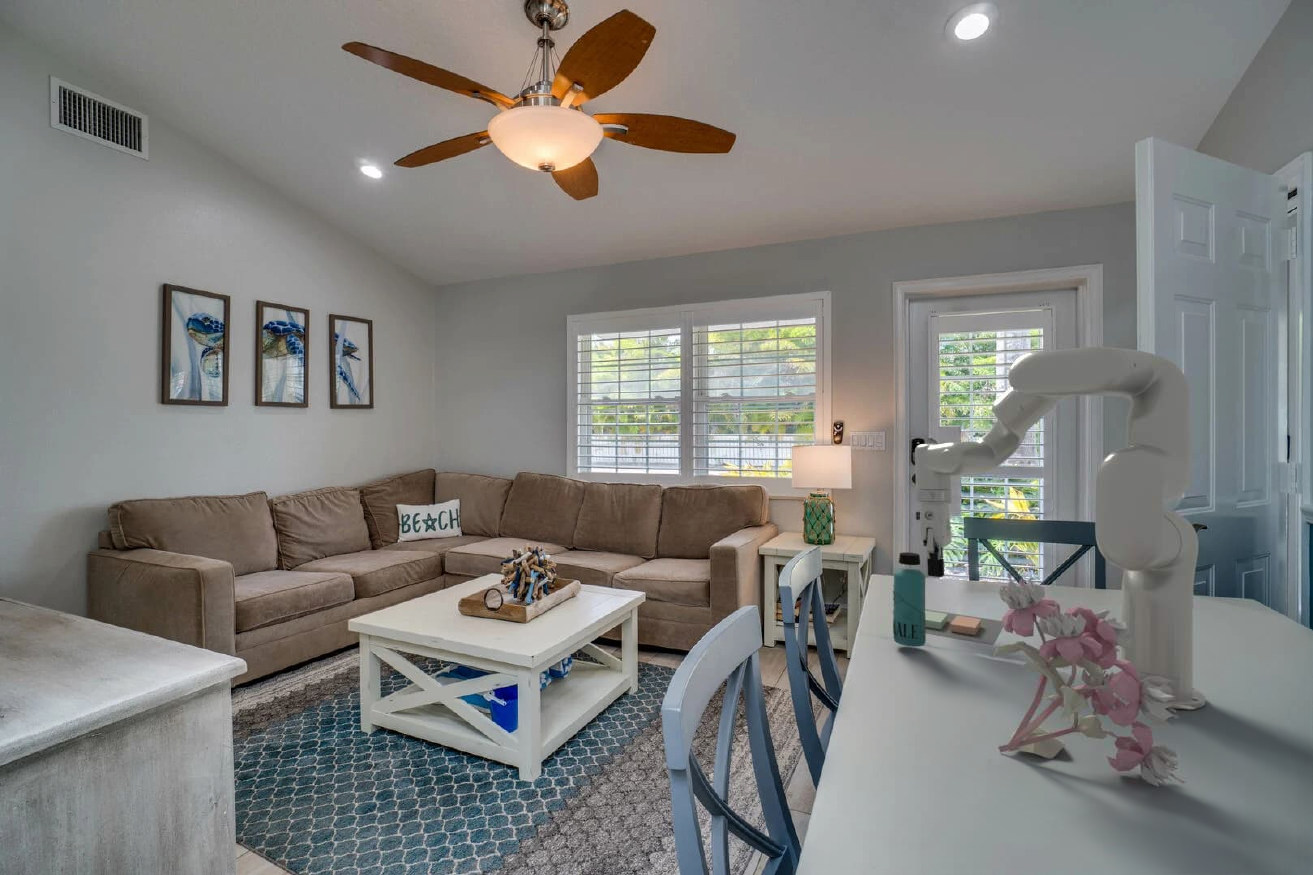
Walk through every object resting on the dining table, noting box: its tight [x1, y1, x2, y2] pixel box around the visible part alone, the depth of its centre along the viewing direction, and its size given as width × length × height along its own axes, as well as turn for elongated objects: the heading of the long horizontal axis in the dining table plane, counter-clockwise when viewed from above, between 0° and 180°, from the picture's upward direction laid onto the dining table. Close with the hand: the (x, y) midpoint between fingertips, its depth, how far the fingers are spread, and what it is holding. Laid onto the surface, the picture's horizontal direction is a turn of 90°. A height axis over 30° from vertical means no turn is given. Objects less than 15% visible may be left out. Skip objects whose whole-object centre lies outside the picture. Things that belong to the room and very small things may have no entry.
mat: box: [925, 608, 1004, 646], centre depth 143 cm, size 20×20×1 cm
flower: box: [992, 572, 1196, 787], centre depth 83 cm, size 20×22×25 cm
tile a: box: [950, 615, 981, 635], centre depth 140 cm, size 2×5×8 cm
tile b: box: [925, 611, 948, 629], centre depth 144 cm, size 2×5×8 cm
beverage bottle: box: [892, 551, 927, 648], centre depth 129 cm, size 6×7×20 cm
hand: (936, 575), depth 143 cm, fingers closed
